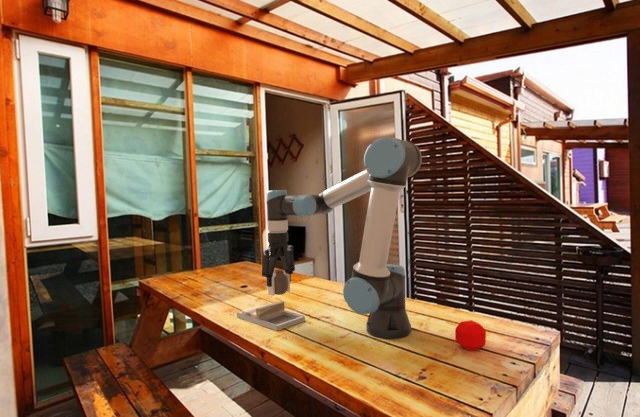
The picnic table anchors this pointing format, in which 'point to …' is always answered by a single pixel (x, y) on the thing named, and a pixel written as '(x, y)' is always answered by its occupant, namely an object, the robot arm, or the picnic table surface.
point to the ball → (470, 335)
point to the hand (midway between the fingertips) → (279, 292)
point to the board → (275, 320)
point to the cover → (265, 310)
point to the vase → (280, 282)
